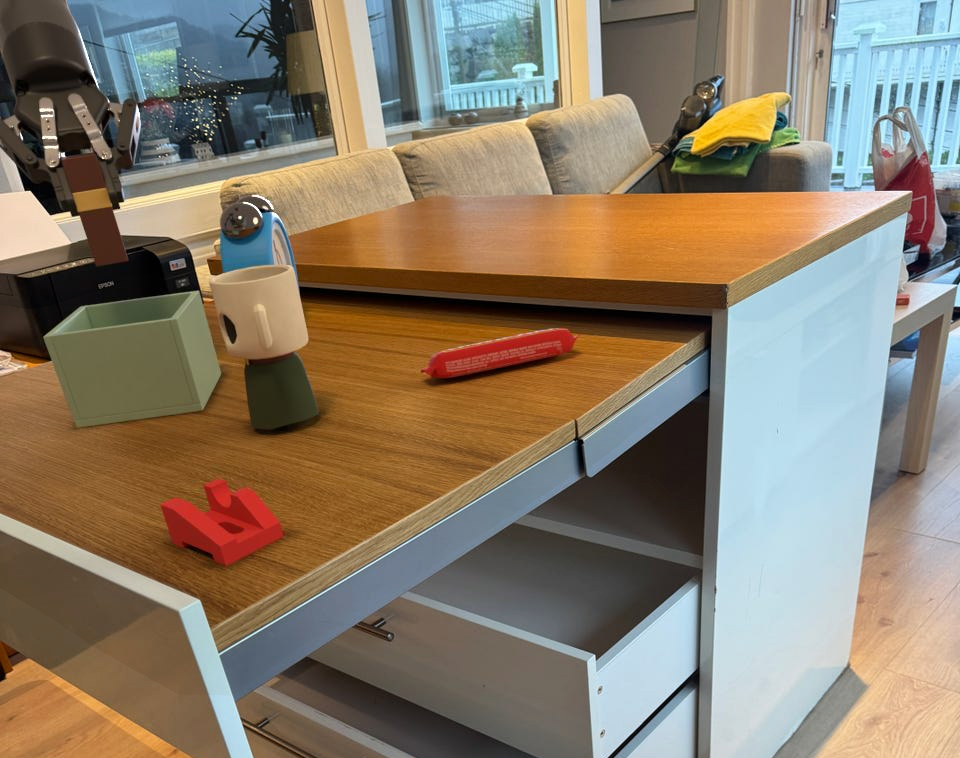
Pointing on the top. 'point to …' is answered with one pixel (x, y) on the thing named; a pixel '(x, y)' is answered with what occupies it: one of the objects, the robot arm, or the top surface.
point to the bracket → (223, 523)
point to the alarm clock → (253, 236)
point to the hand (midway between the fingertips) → (94, 206)
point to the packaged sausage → (500, 353)
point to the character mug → (266, 341)
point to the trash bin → (135, 359)
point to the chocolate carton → (94, 208)
